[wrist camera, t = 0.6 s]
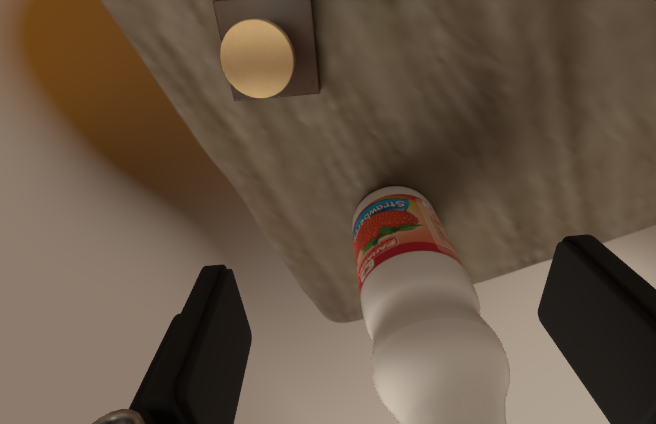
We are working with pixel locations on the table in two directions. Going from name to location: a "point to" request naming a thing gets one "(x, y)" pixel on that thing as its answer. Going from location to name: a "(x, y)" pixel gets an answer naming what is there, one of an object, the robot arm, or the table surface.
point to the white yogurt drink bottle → (424, 317)
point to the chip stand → (295, 20)
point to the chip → (257, 57)
